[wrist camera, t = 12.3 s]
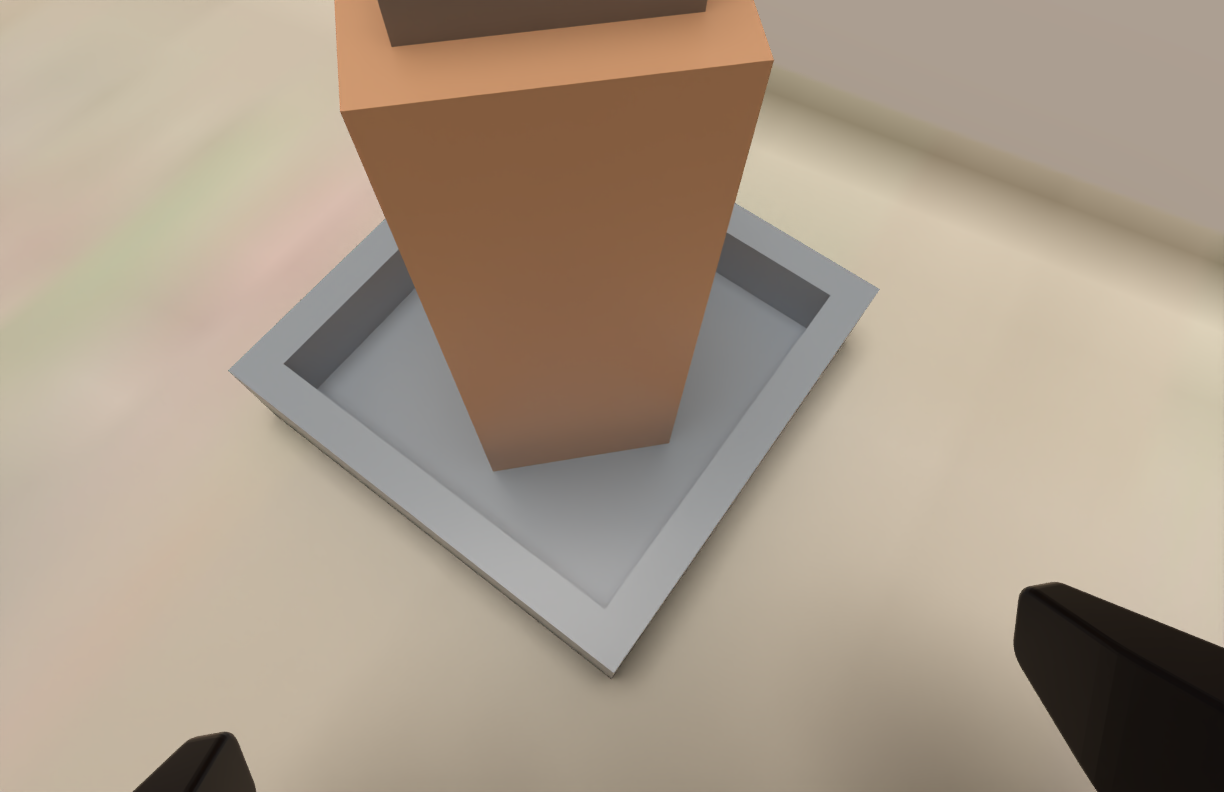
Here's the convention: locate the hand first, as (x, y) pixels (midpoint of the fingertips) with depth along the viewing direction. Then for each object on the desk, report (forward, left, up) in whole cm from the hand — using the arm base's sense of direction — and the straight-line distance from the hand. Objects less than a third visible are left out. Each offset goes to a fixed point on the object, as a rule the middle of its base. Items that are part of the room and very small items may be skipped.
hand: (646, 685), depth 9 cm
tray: (+5, +5, -8) cm, 11 cm away
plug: (+5, +5, -7) cm, 10 cm away
